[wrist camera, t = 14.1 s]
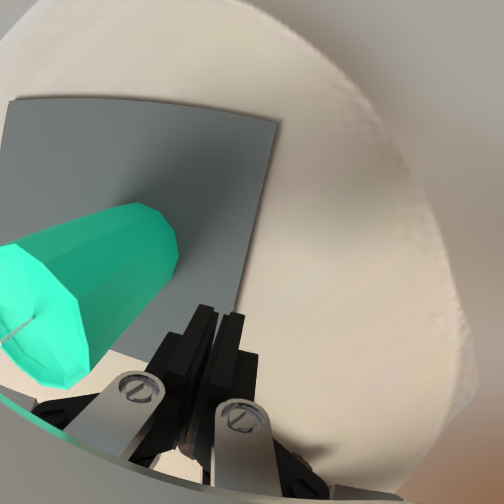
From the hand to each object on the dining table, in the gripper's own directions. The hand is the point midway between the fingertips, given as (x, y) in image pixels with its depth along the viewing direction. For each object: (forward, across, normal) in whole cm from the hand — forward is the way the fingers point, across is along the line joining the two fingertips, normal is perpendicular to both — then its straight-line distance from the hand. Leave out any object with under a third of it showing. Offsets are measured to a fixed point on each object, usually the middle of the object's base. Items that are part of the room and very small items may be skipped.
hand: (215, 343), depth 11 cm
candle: (+8, +7, 0) cm, 11 cm away
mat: (+9, +11, 0) cm, 14 cm away
